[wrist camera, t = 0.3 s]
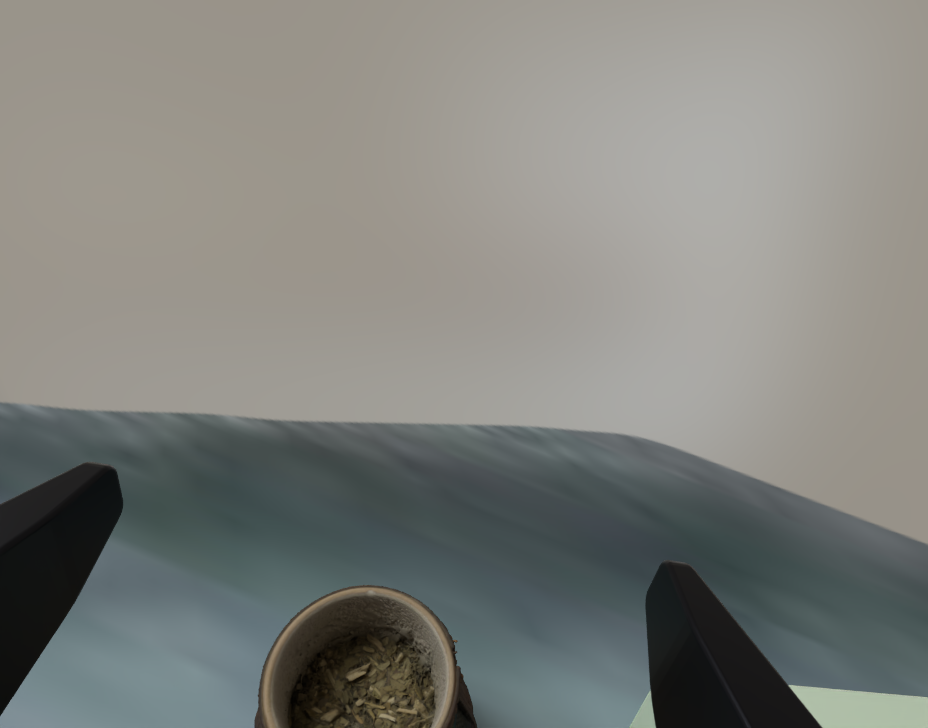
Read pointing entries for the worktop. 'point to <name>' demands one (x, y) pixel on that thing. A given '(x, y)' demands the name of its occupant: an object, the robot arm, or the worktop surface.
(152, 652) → the worktop surface
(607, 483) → the worktop surface
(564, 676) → the worktop surface
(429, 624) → the mate gourd
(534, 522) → the worktop surface
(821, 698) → the pale green block
